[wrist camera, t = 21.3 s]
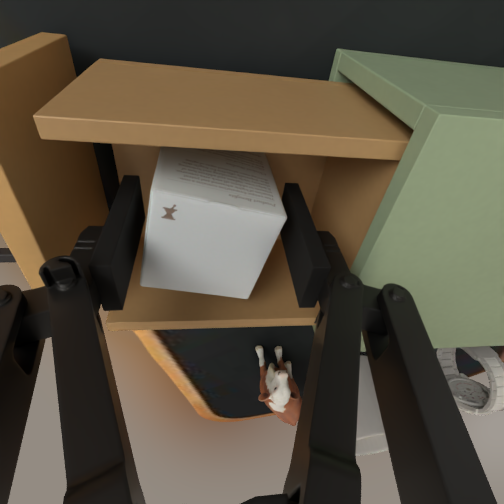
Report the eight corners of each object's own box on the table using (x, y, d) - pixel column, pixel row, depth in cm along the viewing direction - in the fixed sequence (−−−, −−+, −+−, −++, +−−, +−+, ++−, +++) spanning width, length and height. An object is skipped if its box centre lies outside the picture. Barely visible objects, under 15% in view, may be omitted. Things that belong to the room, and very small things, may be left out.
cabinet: (287, 243, 28) (320, 353, 20) (336, 48, 18) (440, 113, 10) (463, 245, 30) (553, 343, 22) (590, 77, 20) (830, 147, 13)
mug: (310, 367, 45) (331, 446, 37) (375, 346, 42) (410, 425, 35) (331, 392, 52) (352, 462, 44) (387, 375, 49) (419, 446, 42)
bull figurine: (282, 324, 36) (297, 394, 30) (296, 373, 45) (310, 434, 39) (246, 332, 37) (254, 403, 31) (267, 379, 46) (276, 441, 40)
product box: (153, 206, 21) (135, 288, 16) (166, 118, 17) (147, 186, 12) (238, 223, 23) (248, 302, 18) (267, 147, 19) (291, 217, 14)
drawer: (19, 241, 23) (-54, 348, 17) (-98, 16, 14) (-354, 59, 8) (304, 245, 27) (336, 334, 20) (358, 66, 18) (446, 124, 11)
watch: (404, 339, 42) (451, 427, 34) (427, 302, 36) (489, 397, 28) (443, 335, 42) (498, 421, 34) (471, 298, 37) (545, 390, 29)
